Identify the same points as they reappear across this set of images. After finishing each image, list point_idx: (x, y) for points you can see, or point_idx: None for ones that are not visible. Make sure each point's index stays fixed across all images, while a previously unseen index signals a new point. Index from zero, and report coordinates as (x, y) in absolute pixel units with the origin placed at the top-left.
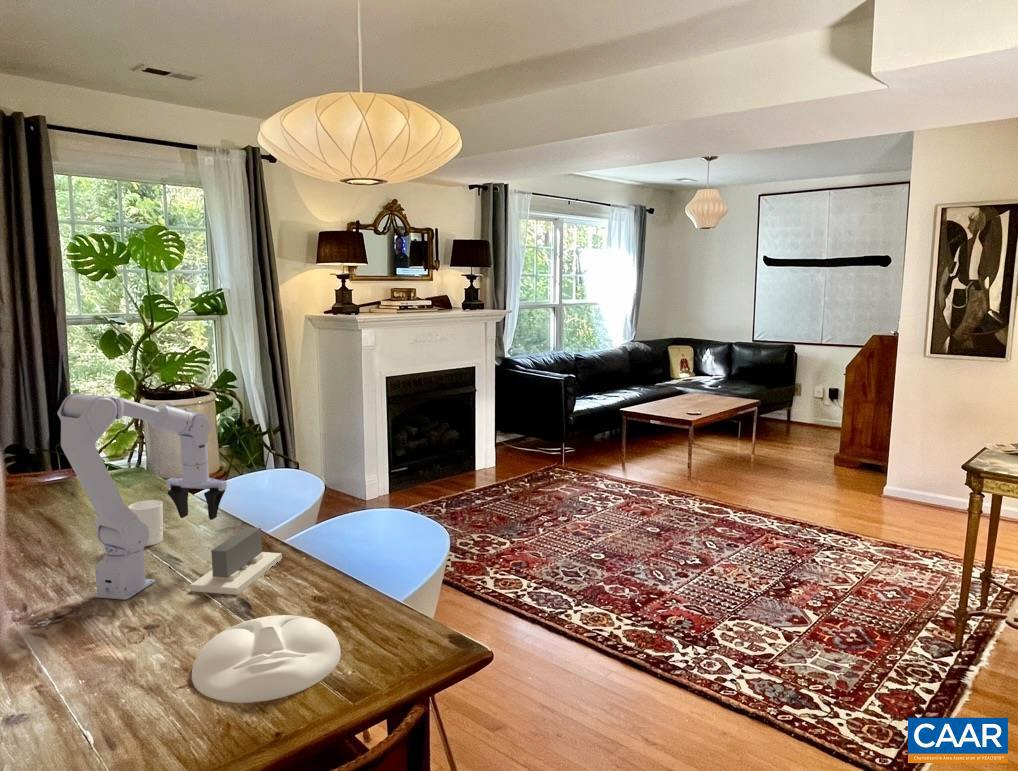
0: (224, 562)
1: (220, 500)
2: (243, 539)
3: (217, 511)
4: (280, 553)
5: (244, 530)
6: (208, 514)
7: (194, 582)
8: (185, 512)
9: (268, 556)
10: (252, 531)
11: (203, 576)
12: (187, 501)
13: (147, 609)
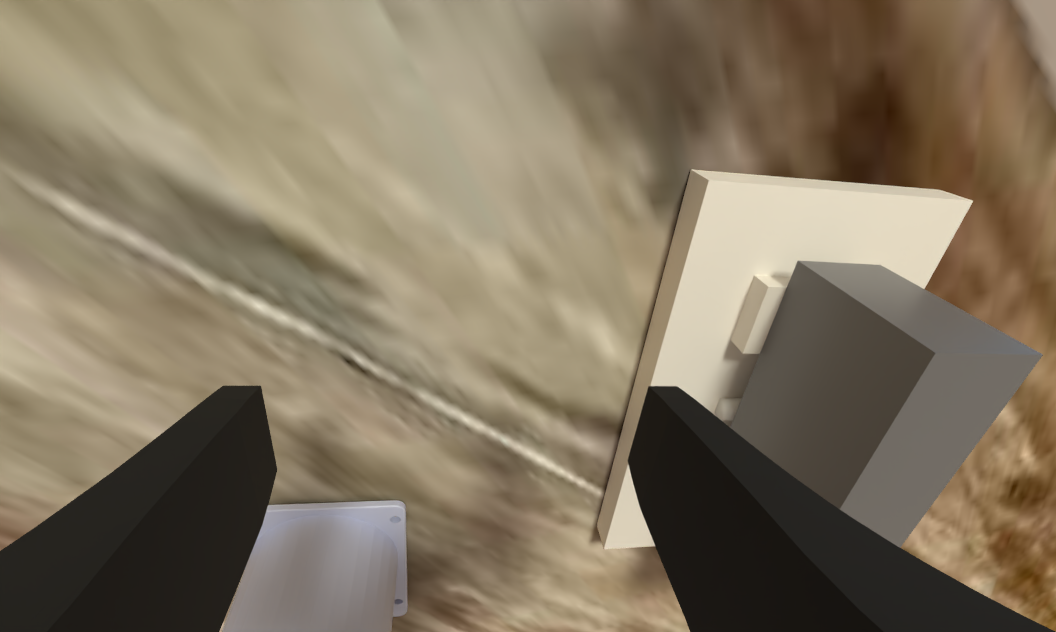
0: None
1: (884, 546)
2: (905, 536)
3: (722, 425)
4: (965, 205)
5: (910, 417)
6: (649, 528)
7: (610, 534)
8: (246, 458)
9: (895, 257)
10: (969, 426)
11: (625, 492)
12: (138, 537)
13: (517, 622)
